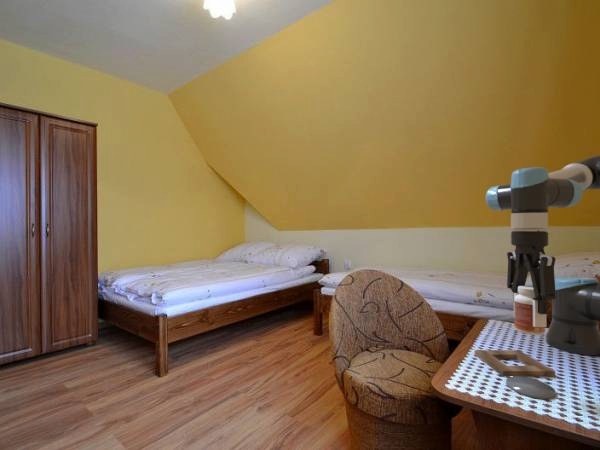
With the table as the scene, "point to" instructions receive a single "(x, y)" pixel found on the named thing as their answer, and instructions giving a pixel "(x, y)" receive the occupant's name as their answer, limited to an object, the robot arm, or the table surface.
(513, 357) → the wooden square frame
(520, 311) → the pill bottle
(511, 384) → the slate coaster
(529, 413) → the table surface
